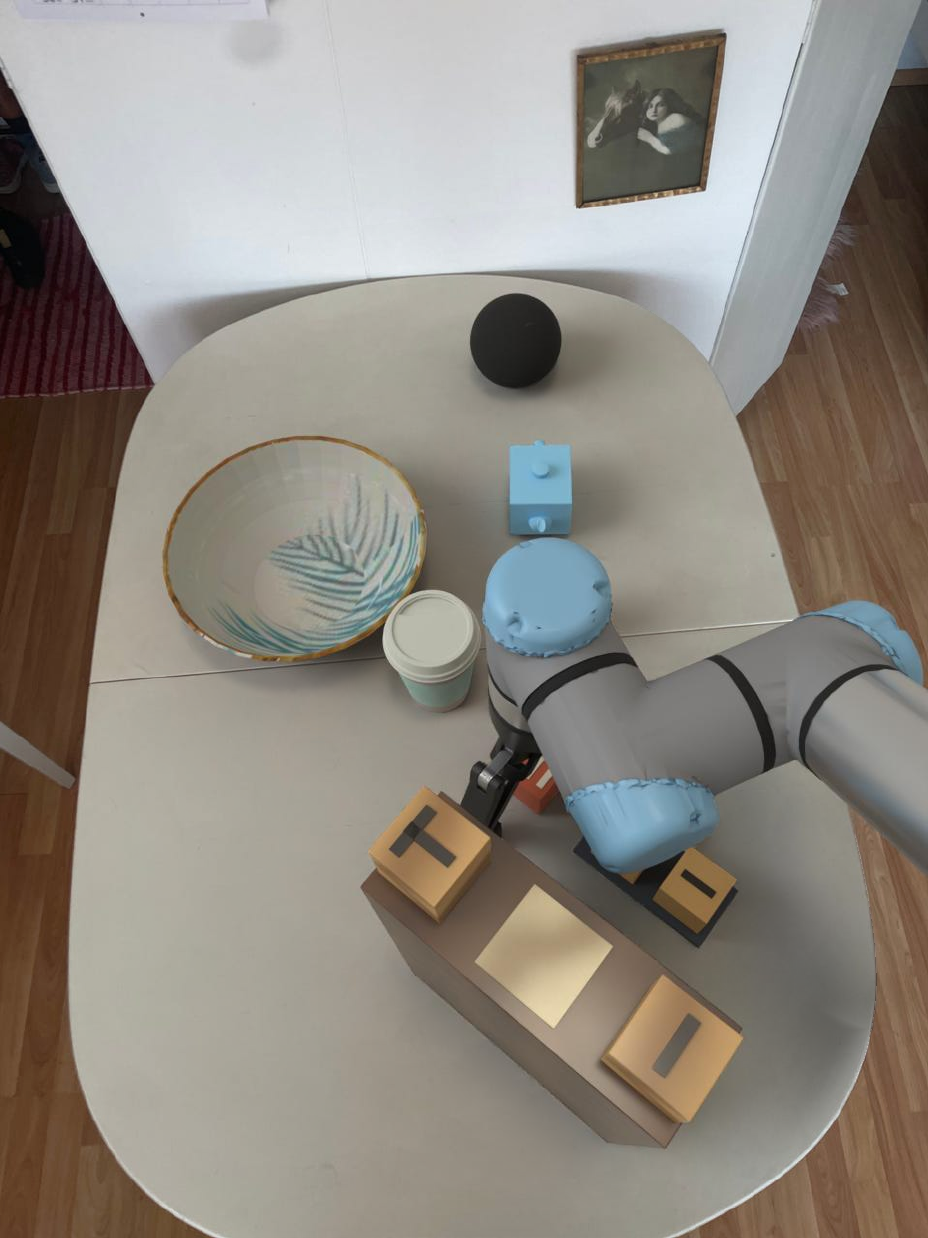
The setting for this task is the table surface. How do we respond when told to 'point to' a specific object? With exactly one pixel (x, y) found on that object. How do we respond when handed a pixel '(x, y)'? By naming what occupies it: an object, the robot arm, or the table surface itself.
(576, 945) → the word stand
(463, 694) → the coffee cup
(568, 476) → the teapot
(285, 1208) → the table surface
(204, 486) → the bowl
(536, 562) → the robot arm
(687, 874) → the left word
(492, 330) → the black ball
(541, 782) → the block
